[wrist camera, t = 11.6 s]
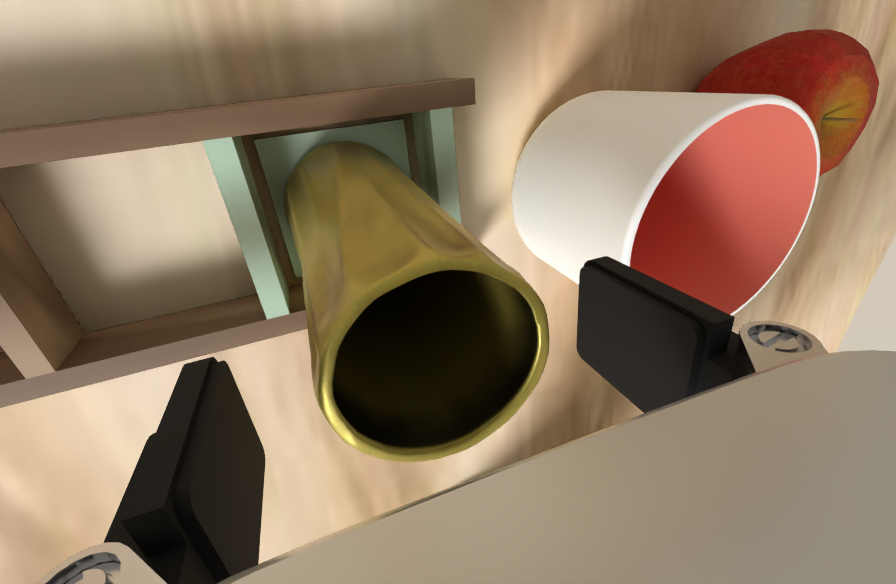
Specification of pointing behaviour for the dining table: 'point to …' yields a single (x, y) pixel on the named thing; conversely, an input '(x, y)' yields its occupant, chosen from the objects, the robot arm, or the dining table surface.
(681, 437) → the robot arm
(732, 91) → the apple
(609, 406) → the dining table surface
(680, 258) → the cup
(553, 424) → the dining table surface
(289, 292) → the wooden compartment tray
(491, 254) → the vase
